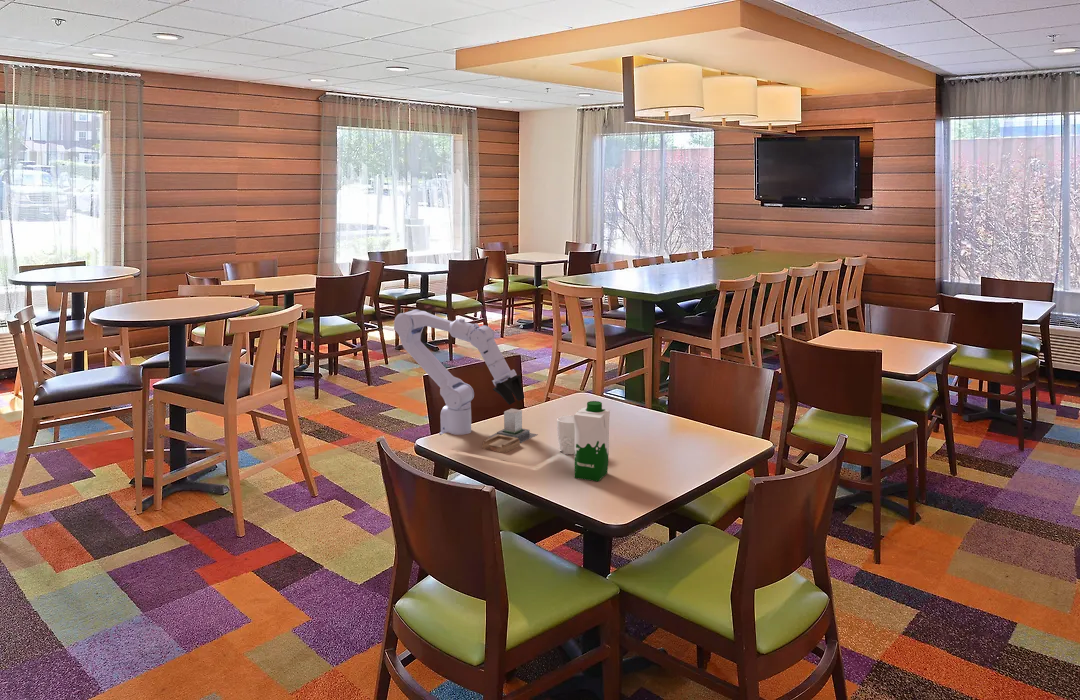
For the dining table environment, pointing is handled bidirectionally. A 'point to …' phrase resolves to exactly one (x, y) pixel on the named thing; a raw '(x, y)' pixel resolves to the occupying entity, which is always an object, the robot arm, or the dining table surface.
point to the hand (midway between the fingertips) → (516, 401)
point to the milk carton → (591, 441)
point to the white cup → (566, 434)
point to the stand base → (517, 435)
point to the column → (513, 421)
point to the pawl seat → (501, 443)
